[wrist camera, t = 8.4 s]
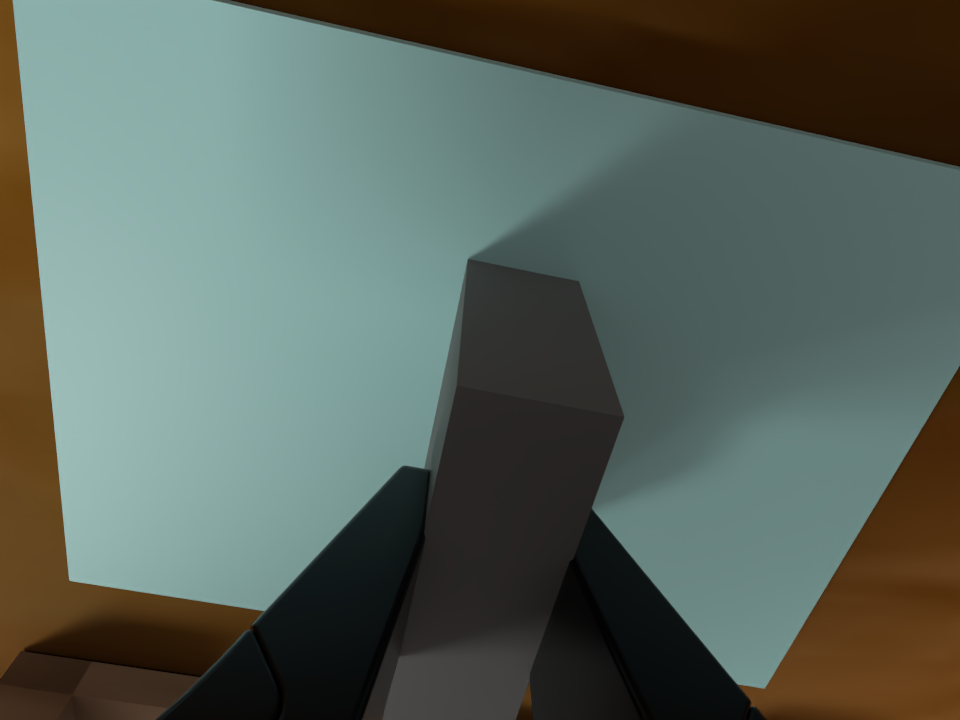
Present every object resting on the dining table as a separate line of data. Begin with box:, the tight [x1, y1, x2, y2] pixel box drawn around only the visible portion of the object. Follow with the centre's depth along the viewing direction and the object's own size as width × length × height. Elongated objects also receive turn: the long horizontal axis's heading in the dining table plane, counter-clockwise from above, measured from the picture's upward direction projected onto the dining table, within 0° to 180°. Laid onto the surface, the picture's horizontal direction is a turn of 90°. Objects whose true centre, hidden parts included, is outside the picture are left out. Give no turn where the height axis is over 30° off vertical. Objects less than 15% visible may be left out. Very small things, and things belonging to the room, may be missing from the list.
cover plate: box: [13, 0, 960, 720], centre depth 9 cm, size 10×13×4 cm
